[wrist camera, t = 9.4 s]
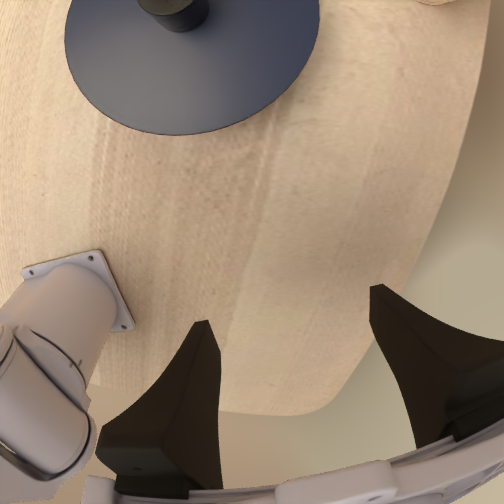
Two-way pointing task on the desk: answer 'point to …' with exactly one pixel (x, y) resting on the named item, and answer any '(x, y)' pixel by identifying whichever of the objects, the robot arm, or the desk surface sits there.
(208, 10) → the tin lid
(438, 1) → the cylindrical container
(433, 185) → the desk surface
